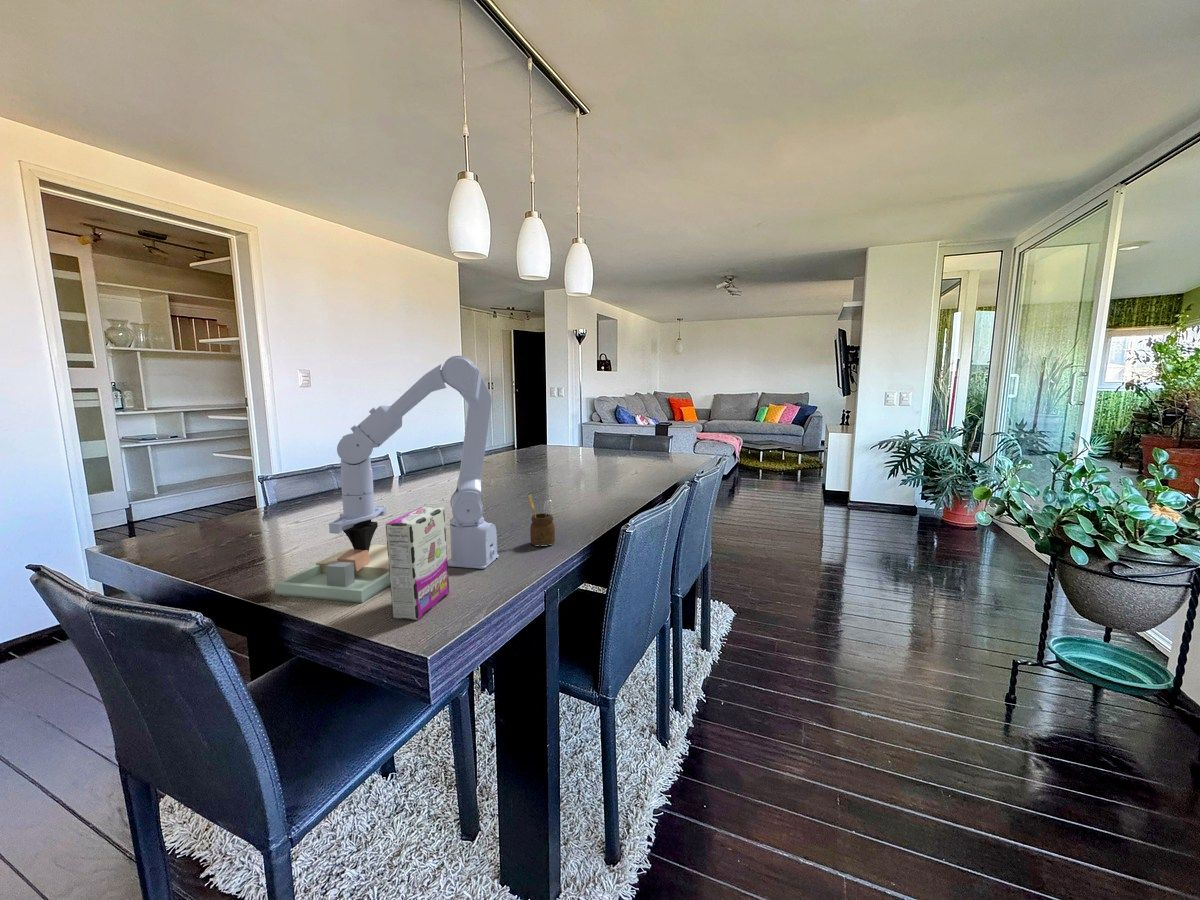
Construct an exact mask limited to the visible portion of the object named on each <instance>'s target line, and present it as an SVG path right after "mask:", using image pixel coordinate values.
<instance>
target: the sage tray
mask: <svg viewBox="0 0 1200 900" xmlns="http://www.w3.org/2000/svg"><path fill="white" fill-rule="evenodd" d="M354 579H355V583H353V584H351V585H350V586H348V587H338V586H327V577H326V574H322V573H321V569H320V565H316V564H314V565H311V566H310V567H307V568H305V569H303V570H301V571H299V572H296V573H294V574H292V575H291V576H288V577H286V578H284V579H282V580H281V579H280V580H279V581H277V582H275V583H274V591H275V592H274V593H275V596H280V595H282V596H281V597H293V598H301V599H302V598H305V599H314V600H316V599H317V600H326V601H337V602H347V603H356V604H357V603H358V604H359V603H360V604H363V603H364V602H366V601H367V600H370V599H371V598H373V597H374V596H376V595H377V594H378V593H380V592H382V591H383V590H385V589H387V588H388V587H390V573H389V572H387V573H385V574H384V575H382V576H380V577H379V578H372V577H359V576H354Z"/></svg>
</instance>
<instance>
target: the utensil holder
mask: <svg viewBox="0 0 1200 900" xmlns="http://www.w3.org/2000/svg"><path fill="white" fill-rule="evenodd" d="M527 498H528V501H529V505H530V508H531V509H532V513H533V515H532V516H531V523H530V528H529V531H530V532H529V533H530V534H529V535H530V536H529V537H530V544H531V545H532V544H533V545H539V546H541V545H549V544H553V543H554V542H555V543H556V528H555V527H556V526H555V523H554V516H553V512H554V511H553V510H554V507H555V506H554V505H555V504H554V502H553V500H551V499H548V500H546V502H544V506H543V509H548V506H546V505H547V504H549V502H552V503H550V506H549V507H552V509H551V510H549V513H548V512H540V513H536V511H535V504H534V500H533V497H532V494H529V495H527ZM552 504H553V505H552ZM545 507H546V508H545ZM555 543H554V544H555ZM554 544H553V545H554ZM533 545H532V546H533Z"/></svg>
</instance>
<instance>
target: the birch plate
mask: <svg viewBox="0 0 1200 900" xmlns="http://www.w3.org/2000/svg"><path fill="white" fill-rule="evenodd" d="M350 549H354V548H353V546H351V547H348V548H346V549H344V550H342V551H340V552H337V553H335V554H333V555H331V556H328V557H326V558H324V559H321V560H320V561H318V562H315V565H320V569H321V573H322V574H326V566H327V565H329V564H331V563H333V562H335V561H337V558H339V557H340V556H342V555H343V554H344V553H346V552H347V551H349V550H350ZM369 557H370V562H369V563H368V564H366V565H365V566H364V567H362V568H361V569H360V570H358V571H354V576H359V577H372V578H379V577H380V576H382V575H384V574H385V573H387V572H389V562H388V549H387V544H373V543H371V544H370V548H369ZM337 562H338V561H337Z"/></svg>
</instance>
